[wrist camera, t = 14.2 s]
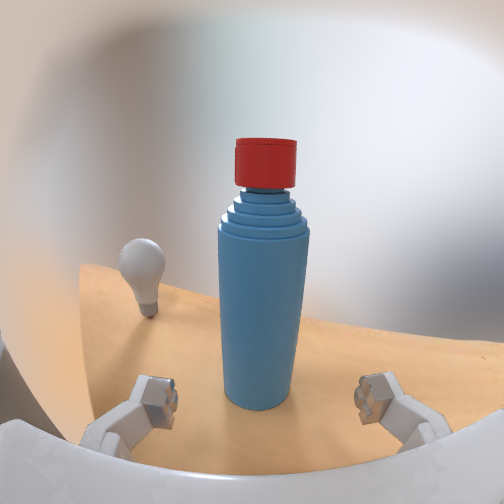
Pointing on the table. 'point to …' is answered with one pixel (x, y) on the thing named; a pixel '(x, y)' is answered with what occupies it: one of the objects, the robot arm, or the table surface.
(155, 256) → the lightbulb
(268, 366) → the bottle
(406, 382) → the table surface
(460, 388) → the table surface
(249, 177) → the cap
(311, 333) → the table surface
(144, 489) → the robot arm
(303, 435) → the table surface
